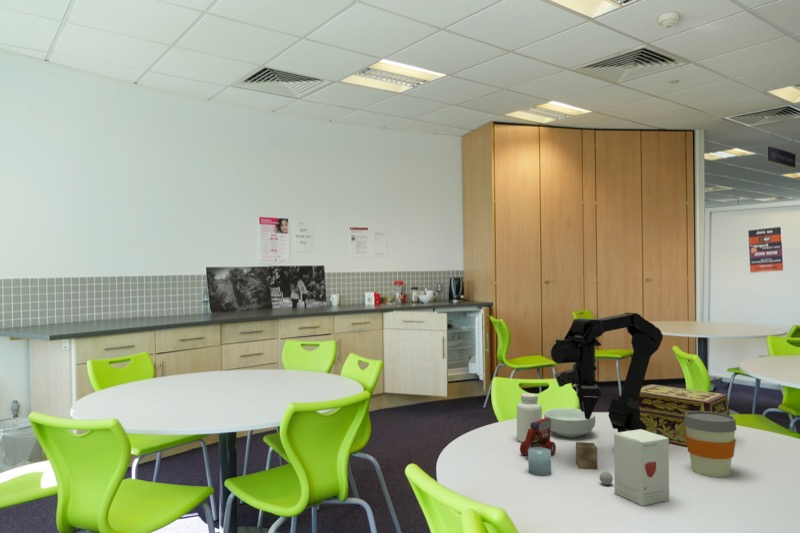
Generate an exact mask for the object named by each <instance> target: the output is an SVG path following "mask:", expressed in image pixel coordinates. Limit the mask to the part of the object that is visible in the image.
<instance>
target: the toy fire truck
mask: <svg viewBox="0 0 800 533" xmlns="http://www.w3.org/2000/svg"><path fill="white" fill-rule="evenodd" d="M530 427H531V428H530V429H528V432H527V435H526V439H525V441H523V442H520V445H519V452H520V454H521V455H523V456H528V449H529V448H532V447H543V448H547V449H550V450H551V457H552V456H554V455H555V453H556V450H557V446H556V443H555V441H551V430H550V427H551V419H550V418H544V417H543V418H542V419H541V420H539V421H536V422H532V423H531V424H530Z"/></svg>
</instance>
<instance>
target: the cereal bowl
mask: <svg viewBox="0 0 800 533" xmlns="http://www.w3.org/2000/svg"><path fill="white" fill-rule="evenodd" d="M595 414H596V413H594V412H592V414H591V416H590V419H585V415H584V412H582V411H581V408H572V407H571V408H569V407H566V408H565V407H561V408H560V407H558V408H550V409H547V410H545V411H544V412H543V419H544V418H550V419H551V427H550V431H552V432H554V433H556V434H558V435H559V436H560V437H565V438H580V437H582V436H583V435H585V434H588V433H590V432H591V431H592V430H593V429H594V428H595V426H596V415H595Z"/></svg>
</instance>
